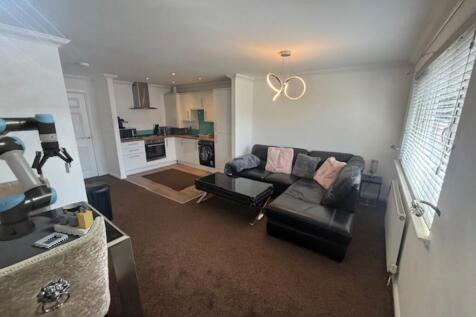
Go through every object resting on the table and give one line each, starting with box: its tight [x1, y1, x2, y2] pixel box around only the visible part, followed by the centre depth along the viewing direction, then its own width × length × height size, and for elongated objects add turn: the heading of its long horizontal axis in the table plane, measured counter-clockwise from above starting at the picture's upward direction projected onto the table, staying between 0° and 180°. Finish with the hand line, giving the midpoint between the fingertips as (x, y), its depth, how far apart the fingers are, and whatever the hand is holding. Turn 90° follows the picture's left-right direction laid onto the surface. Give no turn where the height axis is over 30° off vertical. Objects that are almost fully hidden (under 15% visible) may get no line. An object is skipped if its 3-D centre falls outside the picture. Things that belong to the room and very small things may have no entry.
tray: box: [34, 231, 69, 249], centre depth 111 cm, size 10×10×2 cm
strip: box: [53, 210, 90, 237], centre depth 122 cm, size 24×10×12 cm, turn 75°
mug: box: [61, 202, 87, 213], centre depth 135 cm, size 12×9×10 cm
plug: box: [77, 208, 95, 230], centre depth 119 cm, size 5×5×14 cm
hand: (56, 176), depth 118 cm, fingers open, 13 cm apart
